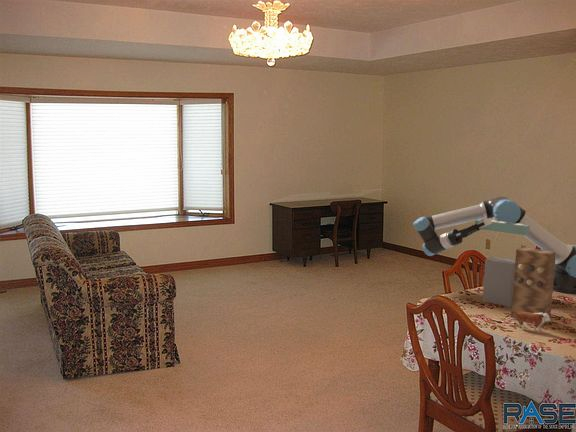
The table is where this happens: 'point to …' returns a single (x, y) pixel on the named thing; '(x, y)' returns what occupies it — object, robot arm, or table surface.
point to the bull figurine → (531, 319)
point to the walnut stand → (533, 281)
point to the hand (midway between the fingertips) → (492, 220)
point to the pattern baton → (506, 227)
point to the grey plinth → (498, 281)
